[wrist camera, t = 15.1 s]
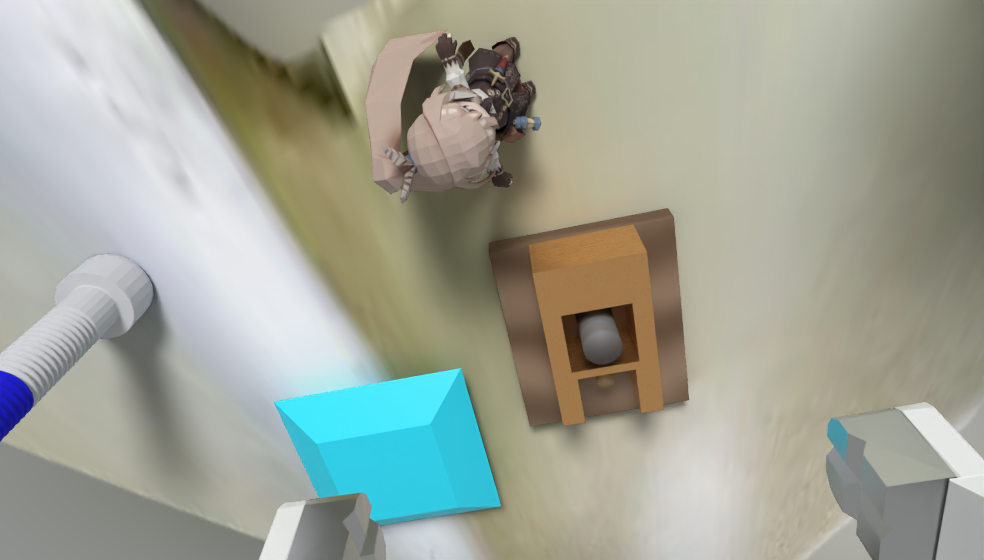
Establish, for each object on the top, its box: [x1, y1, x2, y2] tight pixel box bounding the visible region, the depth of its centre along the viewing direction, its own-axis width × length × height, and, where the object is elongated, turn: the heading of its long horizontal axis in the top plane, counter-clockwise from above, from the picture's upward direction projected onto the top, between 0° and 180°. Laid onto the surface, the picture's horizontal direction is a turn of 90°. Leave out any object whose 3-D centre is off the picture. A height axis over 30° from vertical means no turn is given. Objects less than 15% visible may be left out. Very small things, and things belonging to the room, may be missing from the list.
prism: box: [274, 368, 501, 525], centre depth 50 cm, size 14×14×5 cm
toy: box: [365, 30, 541, 203], centre depth 33 cm, size 9×8×15 cm
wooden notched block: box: [529, 225, 664, 426], centre depth 43 cm, size 12×7×4 cm, turn 12°
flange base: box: [489, 208, 689, 426], centre depth 44 cm, size 15×12×6 cm
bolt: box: [0, 254, 153, 441], centre depth 38 cm, size 16×5×5 cm
